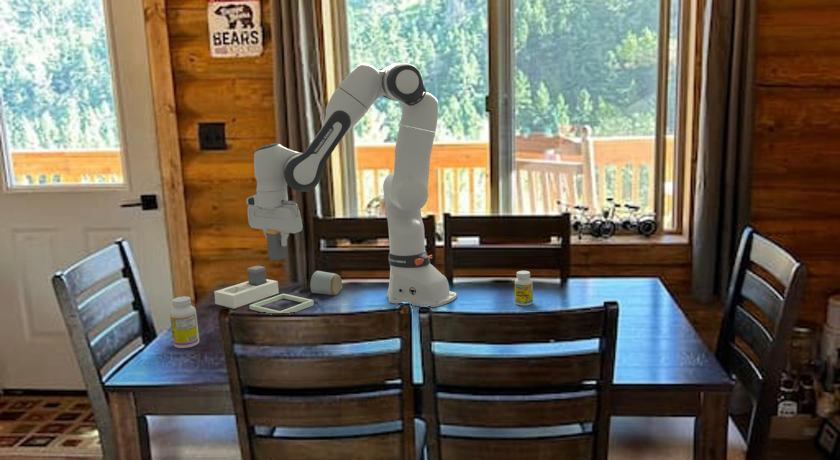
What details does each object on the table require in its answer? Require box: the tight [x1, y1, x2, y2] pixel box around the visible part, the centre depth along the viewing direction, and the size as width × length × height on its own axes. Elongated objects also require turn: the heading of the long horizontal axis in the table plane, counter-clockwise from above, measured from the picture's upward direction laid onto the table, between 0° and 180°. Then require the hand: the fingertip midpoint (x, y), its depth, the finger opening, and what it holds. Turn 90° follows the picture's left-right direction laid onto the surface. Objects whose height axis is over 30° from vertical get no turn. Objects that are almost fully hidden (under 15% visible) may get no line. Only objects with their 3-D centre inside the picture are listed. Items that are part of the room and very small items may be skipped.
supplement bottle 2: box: [514, 270, 534, 307], centre depth 216 cm, size 5×5×10 cm
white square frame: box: [248, 293, 315, 314], centre depth 220 cm, size 14×14×2 cm
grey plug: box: [266, 230, 289, 262], centre depth 216 cm, size 4×4×9 cm
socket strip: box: [213, 278, 280, 309], centre depth 229 cm, size 9×18×5 cm, turn 143°
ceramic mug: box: [309, 270, 343, 296], centre depth 234 cm, size 11×8×8 cm
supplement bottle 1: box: [169, 296, 200, 349], centre depth 193 cm, size 7×7×13 cm
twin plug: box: [247, 265, 267, 286], centre depth 232 cm, size 4×4×9 cm
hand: (277, 244), depth 216 cm, fingers closed on grey plug, 4 cm apart
